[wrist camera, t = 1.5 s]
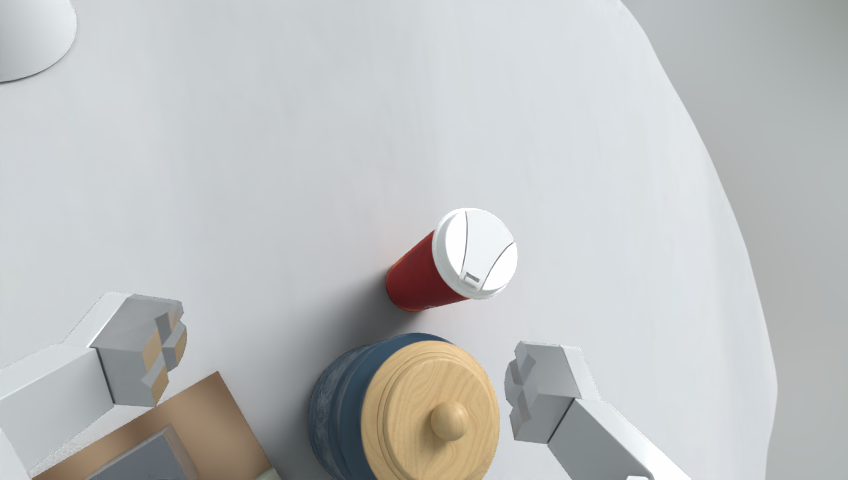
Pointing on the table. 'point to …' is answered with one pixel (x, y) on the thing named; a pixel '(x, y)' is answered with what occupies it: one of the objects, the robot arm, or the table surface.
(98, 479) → the bar
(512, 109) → the table surface
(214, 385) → the door board
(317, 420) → the canister
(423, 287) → the coffee cup
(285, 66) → the table surface
